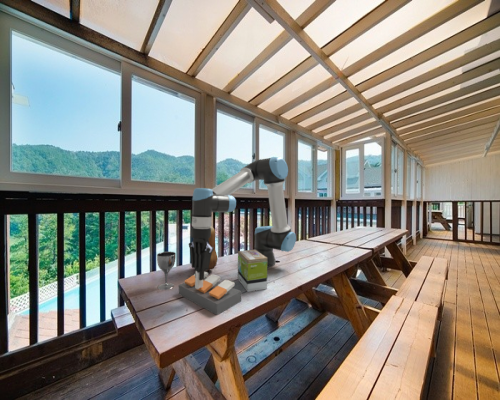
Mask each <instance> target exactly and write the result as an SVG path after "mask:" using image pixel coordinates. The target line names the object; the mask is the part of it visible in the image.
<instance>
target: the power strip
mask: <svg viewBox="0 0 500 400" xmlns="http://www.w3.org/2000/svg"><path fill="white" fill-rule="evenodd" d="M207 278H208V276H207V277H205V278H204V279H203V281H204V280H205V279H207ZM220 283H221V282H220V281H218V282H217V283H216V284H215V285H214V286H213V287H212V288H210V289H209V290H208V291H207V292H205V293H203V292H201V291H199V290H197V289H196V288H195V285H194V286H189V285H187V284H185V282H183V283H180V284H178V295H179V296H181V297H183V298H185V299H187V300H188V301H191V302H192V303H194V304H196V305H197V306H200V307H201V308H203V309H204V310H207V311H208V312H210V313H212V314H214V315H215V316H218V315H220V314H222V313H223V312H225V311H227V310H228V309H230V308H232V307H234V306H235V305H237V304H240V303H241V302H242V291H241V290H239V289H238V288H235V287H232V288H231V289H230V290H229V291H228V292H227V293H226V294H224V295H223V296H222V297H221V298H220V299H217V298H215V297H212V296H210V295H209V292H210V291H211V290H213V289H214V288H215V287H216V286H218V285H219V284H220Z"/></svg>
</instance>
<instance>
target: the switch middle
mask: <svg viewBox="0 0 500 400" xmlns="http://www.w3.org/2000/svg"><path fill="white" fill-rule="evenodd" d="M221 279H222V278H221V276H219V275H216V274H214V273H212V274H210V275H208V276H207V279H205V280H204V281H203V287H201V288H199V289H197V290H199V291H201V292H203V293H205V292H207V291H208V290H209V289H210V288H212V287H213V286H214V285H215V284H216V283H217V282H220V280H221Z"/></svg>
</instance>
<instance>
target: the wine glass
mask: <svg viewBox="0 0 500 400" xmlns="http://www.w3.org/2000/svg"><path fill="white" fill-rule="evenodd" d="M156 261H157V267H158V268H159V270H161V271H162V272H163V274H164V281H165V282H163V283H161V284H159V285H158V286H157V289H158V290H162V291H163V290H165V291H166V290H170V289H173V288H174V287H175V284H174V283H172V282H168V276H169V272H170V271H171V270H172V269H173V268H174V266H175V263H176V252H175V251H162V252H159V253H157V254H156Z"/></svg>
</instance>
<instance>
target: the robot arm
mask: <svg viewBox="0 0 500 400" xmlns="http://www.w3.org/2000/svg"><path fill="white" fill-rule="evenodd" d="M288 173H289V168H288V164H287V162H286V160H285V159H284V158H282V157H279V156H278V157H277V156H275V157H274V156H273V157H269V158H260V159H257V160H254V161H251V163H249V164H247V165H245V166H243V167H242V168H240V171H239V172H238V173H236V174H234V175H232V176H231V177H229V178H228V179H225V180H224V181H223V182H221V183H219V184H218V185H216V186H214V187H213V188H205V187H195V188H194V189H193V193H192V198H191V200H192V207H191V208H192V211H191V212H192V213H191V215H192V216H191V218H192V219H191V226H192V228H191V233H190V236H191V238H192V242H189V243H188V247H189V254H190V265H191V268H192V269H193V270H194V274H195V288H196V289H199V288H201V287H203V279H204V271H207V270H208V269H209V264H210V259H211V255H212V252H213V250H214V248H213V247H211V246H210V245H209V238H210V237H211V228H210V227H212V218H213V217H212V215H213V213H230V212H233V211H234V210H235V209H236V206H237V199H236V198H235V197H234V196H233V195H232V194H234V193H235V192H236V191H238V190H239V189H241V188H242V187H244V186H245V185H247V184H251V183H253V182H255V181H263V184H264V185H265V186H266V188H267V194H268V195H267V196H268V203H269V209H270V215H271V222H272V223H271V224H272V225H266V226H265V225H263V226H257V227H256V228H255V229H254V230H255V231H254V250H257V251H258V252H259V253H261V254H262V255H264V256H265V257H267V267H272V266H275V265H276V257H275V254H274V250H277V251H281V252H286V253H289V252H291V251H293V249H294V248H295V245H296V242H297V236H296V233H295V232H294V231H292V228H291V226H290V225H289V224H288V218H287V217H288V216H287V211H286V210H287V209H286V202H285V193H284V183H285V182H286V178H287V177H288ZM207 272H208V271H207Z"/></svg>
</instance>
